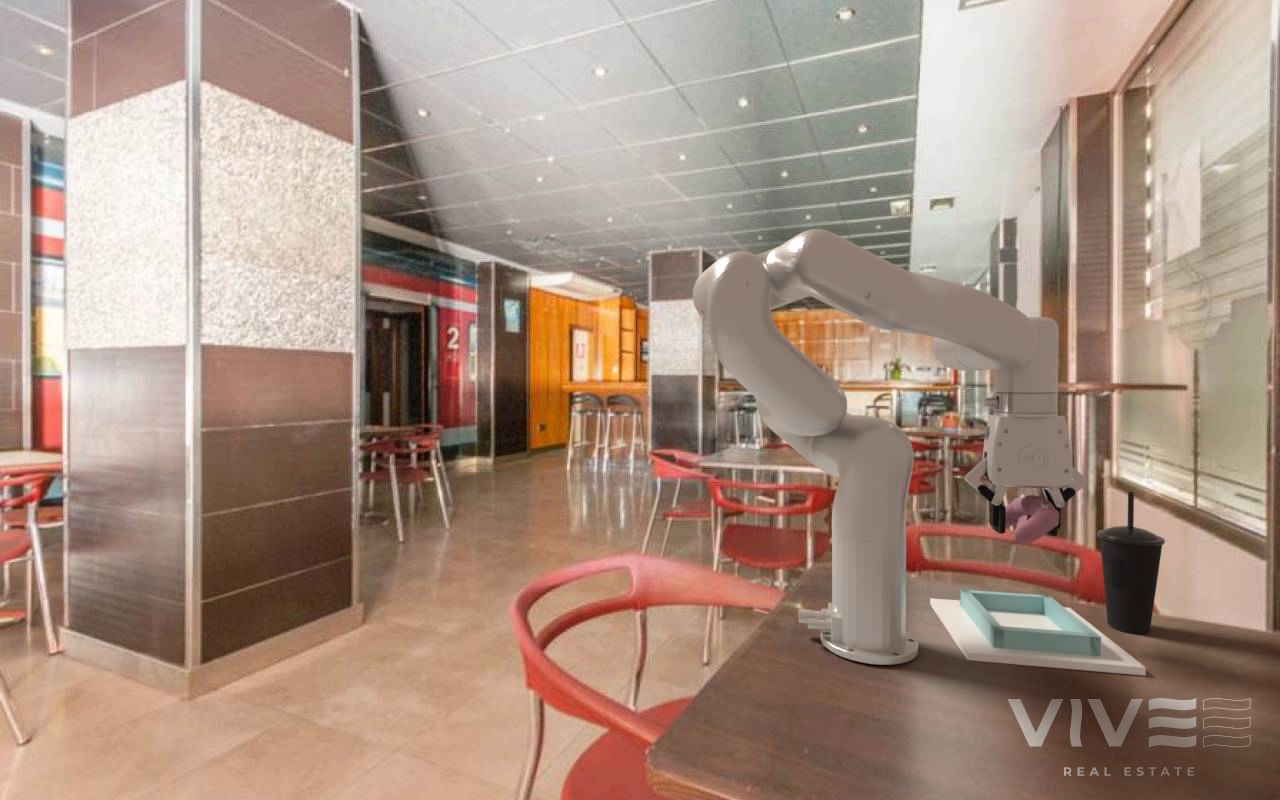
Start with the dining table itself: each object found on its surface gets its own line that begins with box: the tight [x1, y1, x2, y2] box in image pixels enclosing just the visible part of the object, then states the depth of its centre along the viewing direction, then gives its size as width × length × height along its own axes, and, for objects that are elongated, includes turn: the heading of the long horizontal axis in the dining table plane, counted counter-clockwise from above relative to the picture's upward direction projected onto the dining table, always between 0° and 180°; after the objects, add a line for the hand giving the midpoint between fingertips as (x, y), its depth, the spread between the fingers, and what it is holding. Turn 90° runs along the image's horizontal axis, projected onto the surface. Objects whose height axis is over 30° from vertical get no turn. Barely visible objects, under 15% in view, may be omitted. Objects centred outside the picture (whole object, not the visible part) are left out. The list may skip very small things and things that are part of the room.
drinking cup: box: [1096, 491, 1166, 635], centre depth 88 cm, size 8×8×20 cm
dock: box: [930, 589, 1147, 677], centre depth 86 cm, size 20×20×4 cm
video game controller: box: [1005, 494, 1059, 544], centre depth 85 cm, size 10×5×7 cm, turn 168°
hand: (1023, 531), depth 86 cm, fingers closed on video game controller, 5 cm apart
